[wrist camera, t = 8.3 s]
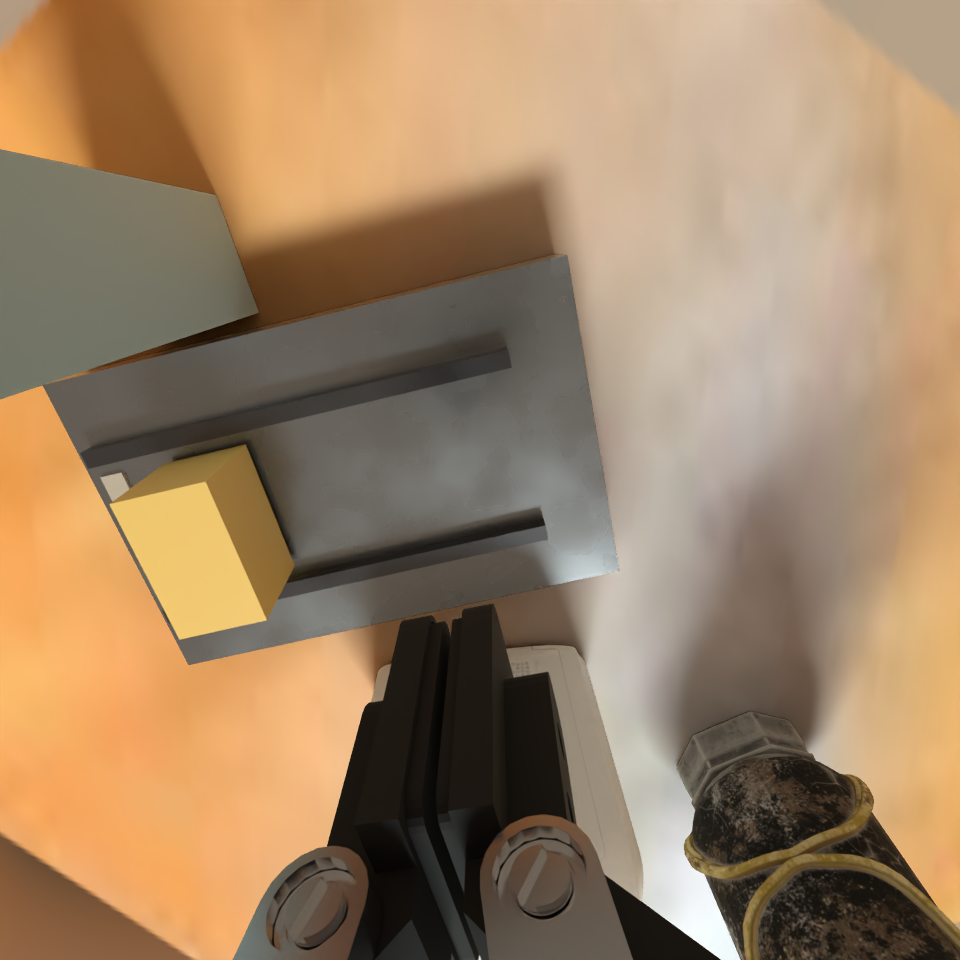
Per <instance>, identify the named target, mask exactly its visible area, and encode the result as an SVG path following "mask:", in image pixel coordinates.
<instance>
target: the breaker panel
mask: <svg viewBox="0 0 960 960" xmlns="http://www.w3.org/2000/svg"><path fill="white" fill-rule="evenodd" d="M43 387H44V389H45V391H46V392H47V394H48V396H49V398H50V400H51V402H52V404H53V406H54V408H55V410H56V412H57V414H58V416H59V417H60V419H61V421H62V423H63V425H64V427H65V429H66V431H67V433H68V435H69V437H70V439H71V440H72V442H73V444H74V446H75V448H76V450H77V452H78V454H79V456H80V458H81V460H82V462H83V463H84V465H85V467H86V469H87V471H88V473H89V475H90V477H91V479H92V481H93V483H94V485H95V486H96V488H97V490H98V492H99V494H100V496H101V498H102V500H103V502H104V504H105V506H106V508H107V510H108V511H109V513H110V515H111V517H112V519H113V521H114V523H115V525H116V527H117V529H118V531H119V533H120V534H121V536H122V538H123V540H124V542H125V544H126V546H127V548H128V550H129V552H130V554H131V556H132V557H133V559H134V561H135V563H136V565H137V567H138V569H139V571H140V573H141V575H142V577H143V579H144V580H145V582H146V584H147V586H148V588H149V590H150V592H151V594H152V596H153V598H154V600H155V602H156V603H157V605H158V607H159V609H160V611H161V613H162V615H163V617H164V619H165V621H166V623H167V625H168V627H169V628H170V630H171V632H172V634H173V636H174V638H175V640H176V642H177V644H178V646H179V648H180V650H181V651H182V653H183V655H184V657H185V659H186V661H187V663H188V665H191V664H196V663H200V662H205V661H209V660H214V659H219V658H223V657H228V656H232V655H237V654H241V653H246V652H251V651H255V650H260V649H264V648H269V647H274V646H278V645H283V644H287V643H292V642H296V641H301V640H306V639H310V638H315V637H319V636H324V635H329V634H333V633H338V632H342V631H347V630H351V629H356V628H361V627H365V626H370V625H374V624H379V623H384V622H388V621H393V620H397V619H402V618H406V617H411V616H416V615H420V614H425V613H429V612H434V611H438V610H443V609H448V608H452V607H457V606H461V605H466V604H471V603H475V602H480V601H484V600H489V599H493V598H498V597H503V596H507V595H512V594H516V593H521V592H526V591H530V590H535V589H539V588H544V587H548V586H553V585H558V584H562V583H567V582H571V581H576V580H581V579H585V578H590V577H594V576H599V575H603V574H608V573H613V572H617V571H619V566H618V560H617V554H616V548H615V542H614V536H613V530H612V524H611V518H610V512H609V506H608V499H607V493H606V487H605V481H604V475H603V469H602V463H601V457H600V451H599V445H598V439H597V433H596V427H595V421H594V415H593V408H592V402H591V396H590V390H589V384H588V378H587V372H586V366H585V360H584V354H583V348H582V342H581V336H580V330H579V324H578V318H577V311H576V305H575V299H574V293H573V287H572V281H571V275H570V269H569V263H568V257H567V255H562V254H553V255H549V256H545V257H541V258H537V259H533V260H529V261H525V262H521V263H517V264H513V265H509V266H505V267H501V268H496V269H492V270H488V271H484V272H480V273H476V274H472V275H468V276H464V277H460V278H456V279H452V280H448V281H444V282H440V283H436V284H432V285H428V286H424V287H420V288H416V289H412V290H408V291H404V292H400V293H396V294H392V295H388V296H384V297H380V298H376V299H372V300H368V301H364V302H360V303H356V304H352V305H348V306H344V307H340V308H335V309H331V310H327V311H323V312H319V313H315V314H311V315H307V316H303V317H299V318H295V319H291V320H287V321H283V322H279V323H275V324H271V325H267V326H263V327H259V328H255V329H251V330H247V331H243V332H239V333H235V334H231V335H227V336H223V337H219V338H215V339H211V340H207V341H203V342H199V343H195V344H191V345H187V346H183V347H179V348H175V349H170V350H166V351H162V352H158V353H154V354H150V355H146V356H142V357H138V358H134V359H130V360H126V361H122V362H118V363H114V364H110V365H106V366H102V367H98V368H94V369H90V370H86V371H83V372H80V373H77V374H74V375H71V376H68V377H65V378H62V379H59V380H56V381H53V382H50V383H47V384H44V385H43ZM244 444H246V447H247V449H248V451H249V454H250V456H251V459H252V461H253V464H254V466H255V469H256V471H257V474H258V476H259V479H260V481H261V484H262V486H263V489H264V491H265V494H266V496H267V498H268V501H269V503H270V506H271V508H272V511H273V513H274V516H275V518H276V521H277V523H278V526H279V528H280V531H281V533H282V536H283V538H284V540H285V543H286V545H287V548H288V550H289V553H290V555H291V558H292V560H293V563H294V565H295V566H294V568H293V570H292V572H291V574H290V576H289V578H288V580H287V582H286V584H285V586H284V588H283V590H282V592H281V594H280V596H279V598H278V600H277V602H276V604H275V605H274V607H273V609H272V611H271V613H270V615H269V617H268V619H267V620H266V621H262V622H257V623H253V624H248V625H244V626H239V627H235V628H230V629H225V630H221V631H216V632H212V633H207V634H203V635H198V636H194V637H189V638H185V639H180V640H179V638H178V636H177V634H176V632H175V630H174V628H173V626H172V624H171V622H170V620H169V619H168V617H167V615H166V613H165V611H164V609H163V607H162V605H161V603H160V601H159V599H158V597H157V595H156V593H155V591H154V590H153V588H152V586H151V584H150V582H149V580H148V578H147V576H146V574H145V572H144V570H143V568H142V566H141V564H140V563H139V561H138V559H137V557H136V555H135V553H134V551H133V549H132V547H131V545H130V543H129V541H128V539H127V537H126V536H125V534H124V532H123V530H122V528H121V526H120V524H119V522H118V520H117V518H116V516H115V514H114V512H113V510H112V509H111V507H110V505H109V504H110V503H112V502H113V501H114V500H116V499H117V498H118V497H120V496H121V495H122V494H124V493H125V492H126V491H128V490H129V489H131V488H132V487H133V486H135V485H136V484H137V483H139V482H140V481H141V480H143V479H144V478H145V477H147V476H148V475H149V474H151V473H152V472H153V471H155V470H156V469H158V468H159V467H160V466H162V465H163V464H164V463H169V462H173V461H177V460H181V459H185V458H190V457H194V456H198V455H202V454H206V453H211V452H215V451H219V450H223V449H227V448H232V447H236V446H240V445H244Z"/></svg>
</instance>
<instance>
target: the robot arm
mask: <svg viewBox="0 0 960 960" xmlns="http://www.w3.org/2000/svg"><path fill="white" fill-rule="evenodd" d="M479 955H480V958H481V960H720V959H719V958H718V957H716V956H715V955H714V954H712V953H711V952H709V951H708V950H707V949H705V948H704V947H703V946H701V945H700V944H699V943H697V942H696V941H695V940H693V939H692V938H690V937H689V936H688V935H686V934H685V933H684V932H682V931H681V930H680V929H678V928H677V927H675V926H674V925H673V924H671V923H670V922H669V921H667V920H666V919H665V918H663V917H662V916H660V915H659V914H658V913H656V912H655V911H654V910H652V909H651V908H650V907H648V906H647V905H646V904H644V903H643V902H641V901H640V900H639V899H637V898H636V897H635V896H633V895H632V894H631V893H629V892H628V891H626V890H625V889H624V888H622V887H621V886H620V885H618V884H617V883H616V882H614V881H613V880H612V879H610V878H609V877H607V876H606V875H605V874H604V872H603V869H602V866H601V863H600V860H599V857H598V854H597V852H596V850H595V848H594V846H593V844H592V842H591V840H590V839H589V837H588V836H587V835H586V834H585V833H584V832H583V831H582V830H581V829H580V828H579V827H578V826H577V823H576V816H575V809H574V803H573V796H572V789H571V783H570V776H569V769H568V762H567V756H566V750H565V744H564V738H563V733H562V727H561V722H560V717H559V713H558V708H557V704H556V699H555V695H554V691H553V687H552V682H551V678H550V675H549V672H543V673H537V674H532V675H526V676H520V677H513V673H512V669H511V665H510V662H509V658H508V654H507V650H506V646H505V643H504V639H503V635H502V631H501V627H500V624H499V620H498V616H497V612H496V609H495V607H494V605H493V604H490V605H484V606H479V607H474V608H468V609H464V610H463V612H462V618H459V619H454V620H453V622H452V631H451V636H450V632H449V629H448V626H447V624H446V622H445V621H443V622H438V623H436V620H435V618H434V617H433V616H432V615H431V616H426V617H420V618H415V619H410V620H404V621H402V622H401V625H400V628H399V633H398V637H397V641H396V646H395V650H394V654H393V659H392V663H391V667H390V672H389V676H388V680H387V685H386V689H385V693H384V698H383V700H382V701H376V702H371V703H368V704H367V705H366V706H365V708H364V711H363V714H362V717H361V721H360V725H359V728H358V732H357V736H356V740H355V743H354V747H353V751H352V755H351V758H350V762H349V766H348V770H347V773H346V777H345V781H344V785H343V788H342V792H341V796H340V799H339V803H338V807H337V811H336V814H335V818H334V822H333V826H332V829H331V833H330V837H329V841H328V844H327V847H322V848H317V849H315V850H313V851H310V852H308V853H306V854H304V855H302V856H300V857H299V858H297V859H296V860H295V861H293V862H292V863H291V864H289V865H288V866H287V867H285V868H284V870H283V871H282V872H281V873H280V874H279V875H278V876H277V877H276V878H275V879H274V881H273V882H272V883H271V884H270V886H269V888H268V889H267V891H266V893H265V894H264V896H263V898H262V899H261V901H260V903H259V905H258V907H257V909H256V912H255V914H254V916H253V918H252V920H251V922H250V924H249V926H248V929H247V931H246V933H245V935H244V937H243V939H242V941H241V943H240V945H239V948H238V950H237V952H236V954H235V956H234V958H233V960H478V959H479Z"/></svg>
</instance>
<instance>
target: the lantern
mask: <svg viewBox="0 0 960 960" xmlns="http://www.w3.org/2000/svg"><path fill="white" fill-rule="evenodd" d="M677 770H678V772H679V774H680V777H681V779H682V781H683V784H684V786H685V788H686V789H687V791H688V793H689V795H690V796H691V798H692V805H693V807H694V808H695V814H694V820H693V829H692V832H691V834H690V835H689V836H688V837H687V838H686V840H685V843H684V850H685V855H686V857H687V859H688V861H689V863H690V864H691V866H692V867H693V868H694V869H695V870H697V871H699V872H701V873H703V874H705V876H706V879H707V881H708V883H709V886H710V888H711V890H712V893H713V895H714V898H715V900H716V902H717V905H718V907H719V909H720V912H721V914H722V916H723V919H724V921H725V924H726V926H727V928H728V931H729V933H730V935H731V938H732V940H733V942H734V945H735V947H736V950H737V952H738V954H739V957H740V959H741V960H960V930H959V929H958V928H957V927H956V925H955V924H954V923H953V922H952V921H951V920H950V919H949V918H948V917H947V916H946V915H945V914H944V913H943V912H942V911H941V910H939V909H938V907H937V906H936V904H935V903H934V901H933V900H932V899H931V897H930V896H929V894H928V893H927V891H926V890H925V888H924V887H923V886H922V884H921V883H920V881H919V880H918V878H917V877H916V875H915V874H914V873H913V871H912V870H911V868H910V867H909V865H908V864H907V862H906V861H905V859H904V858H903V857H902V855H901V854H900V852H899V851H898V849H897V848H896V846H895V845H894V844H893V842H892V841H891V839H890V838H889V836H888V835H887V833H886V832H885V831H884V829H883V828H882V826H881V825H880V823H879V822H878V820H877V819H876V817H875V816H874V815H873V813H872V812H871V811H872V809H873V804H874V799H873V796H872V794H871V792H870V790H869V788H868V787H867V785H866V784H865V783H864V782H863V781H862V780H861V779H859V778H858V777H856V776H853V775H843V774H839V773H838V772H836V771H834V770H833V769H831V768H829V767H827V766H825V765H824V764H822V763H820V762H817V761H816V760H815V758H814V756H813V754H812V753H808V751H807V750H806V748H805V745H804V743H803V741H802V739H801V737H800V736H799V734H798V733H797V731H796V730H795V728H794V727H793V725H792V724H791V723H790V721H789V720H785V719H781V718H777V717H772V716H768V715H764V714H760V713H756V712H751V711H750V712H747V713H744V714H742V715H740V716H737V717H735V718H733V719H730V720H728V721H725V722H723V723H721V724H718V725H716V726H714V727H711V728H709V729H706V730H704V731H702V732H699V733H697V734H695V735H693V736H692V738H691V740H690V742H689V744H688V746H687V748H686V750H685V752H684V754H683V756H682V758H681V759H680V761H679V763H678V765H677Z"/></svg>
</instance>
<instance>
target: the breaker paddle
mask: <svg viewBox="0 0 960 960" xmlns="http://www.w3.org/2000/svg"><path fill="white" fill-rule="evenodd" d="M109 505H110V507H111V509H112V510H113V512H114V514H115V516H116V518H117V520H118V522H119V524H120V526H121V528H122V530H123V532H124V534H125V536H126V537H127V539H128V541H129V543H130V545H131V547H132V549H133V551H134V553H135V555H136V557H137V559H138V561H139V563H140V564H141V566H142V568H143V570H144V572H145V574H146V576H147V578H148V580H149V582H150V584H151V586H152V588H153V590H154V591H155V593H156V595H157V597H158V599H159V601H160V603H161V605H162V607H163V609H164V611H165V613H166V615H167V617H168V619H169V620H170V622H171V624H172V626H173V628H174V630H175V632H176V634H177V636H178V638H179V640H180V639H185V638H189V637H194V636H198V635H203V634H207V633H212V632H216V631H221V630H225V629H230V628H235V627H239V626H244V625H248V624H253V623H257V622H262V621H266V620H267V619H268V617H269V615H270V613H271V611H272V609H273V607H274V605H275V604H276V602H277V600H278V598H279V596H280V594H281V592H282V590H283V588H284V586H285V584H286V582H287V580H288V578H289V576H290V574H291V572H292V570H293V568H294V566H295V565H294V563H293V560H292V558H291V555H290V553H289V550H288V548H287V545H286V543H285V540H284V538H283V536H282V533H281V531H280V528H279V526H278V523H277V521H276V518H275V516H274V513H273V511H272V508H271V506H270V503H269V501H268V498H267V496H266V494H265V491H264V489H263V486H262V484H261V481H260V479H259V476H258V474H257V471H256V469H255V466H254V464H253V461H252V459H251V456H250V454H249V451H248V449H247V447H246V444H244V445H240V446H236V447H232V448H227V449H223V450H219V451H215V452H211V453H206V454H202V455H198V456H194V457H190V458H185V459H181V460H177V461H173V462H169V463H164V464H163V465H162V466H160V467H159V468H158V469H156V470H155V471H153V472H152V473H151V474H149V475H148V476H147V477H145V478H144V479H143V480H141V481H140V482H139V483H137V484H136V485H135V486H133V487H132V488H131V489H129V490H128V491H126V492H125V493H124V494H122V495H121V496H120V497H118V498H117V499H116V500H114V501H113V502H112V503H110V504H109Z"/></svg>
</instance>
